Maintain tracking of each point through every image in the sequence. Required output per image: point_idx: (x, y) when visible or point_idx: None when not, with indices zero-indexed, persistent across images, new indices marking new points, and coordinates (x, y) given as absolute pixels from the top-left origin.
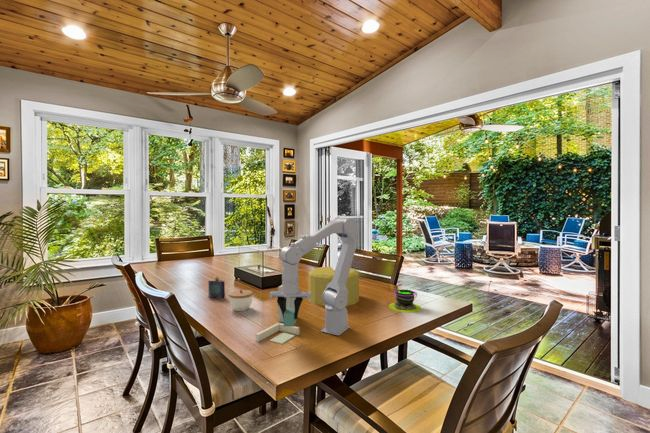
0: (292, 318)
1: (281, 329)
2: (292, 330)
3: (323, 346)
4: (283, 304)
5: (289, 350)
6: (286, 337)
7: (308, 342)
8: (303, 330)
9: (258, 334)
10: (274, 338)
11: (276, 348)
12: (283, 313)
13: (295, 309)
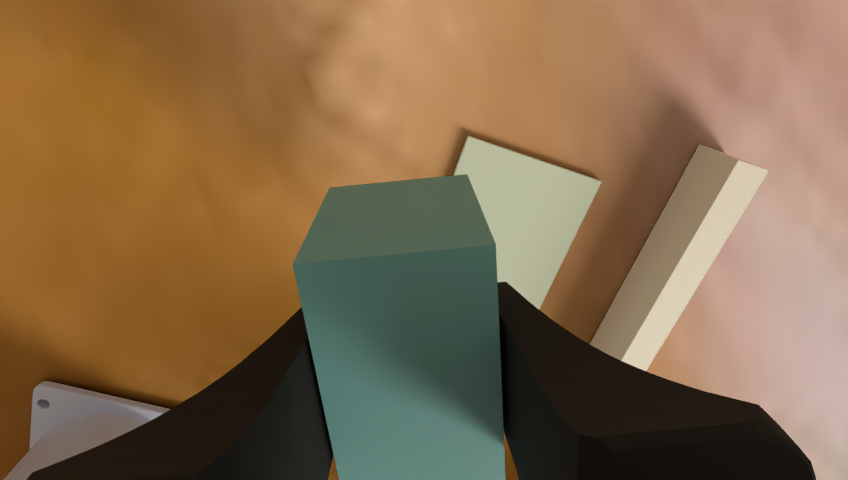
0: (327, 227)
1: None
2: None
3: (77, 165)
4: (554, 403)
5: (355, 15)
6: None
7: (243, 218)
8: None
9: (739, 168)
10: (565, 222)
11: (493, 35)
12: (515, 310)
13: (270, 376)
